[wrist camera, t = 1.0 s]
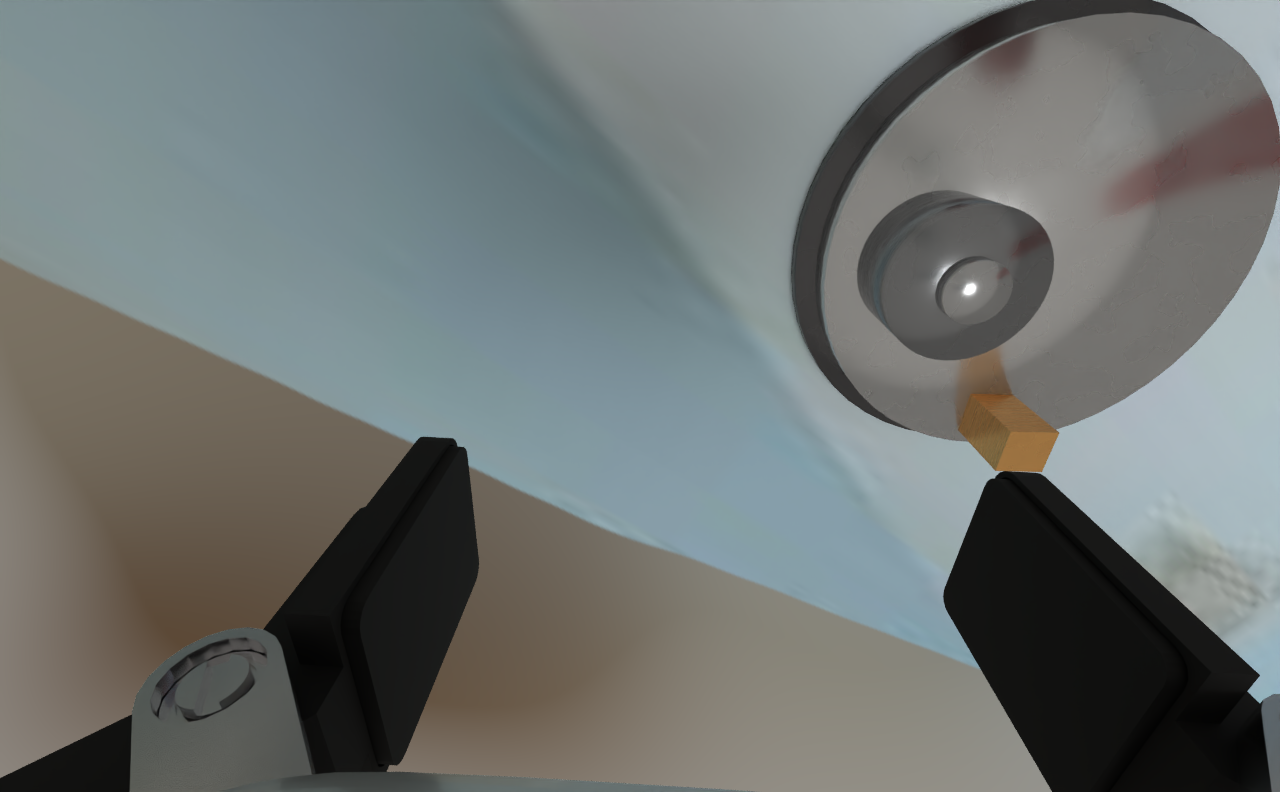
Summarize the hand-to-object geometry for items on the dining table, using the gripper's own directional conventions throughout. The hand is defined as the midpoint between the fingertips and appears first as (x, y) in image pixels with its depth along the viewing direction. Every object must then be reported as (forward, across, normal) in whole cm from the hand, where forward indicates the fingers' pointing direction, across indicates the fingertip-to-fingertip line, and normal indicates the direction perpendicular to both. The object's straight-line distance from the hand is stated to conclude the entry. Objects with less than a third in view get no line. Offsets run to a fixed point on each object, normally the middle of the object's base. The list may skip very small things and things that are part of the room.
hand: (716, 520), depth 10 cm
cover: (+20, -12, -1) cm, 24 cm away
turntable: (+22, -18, -1) cm, 29 cm away
